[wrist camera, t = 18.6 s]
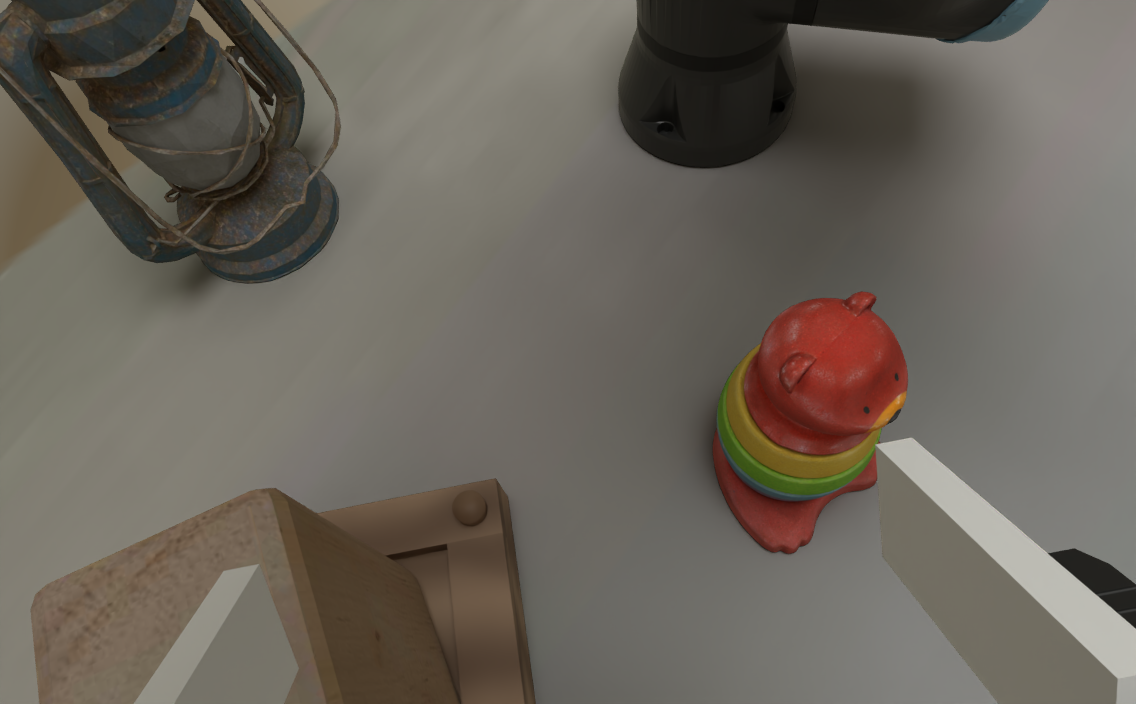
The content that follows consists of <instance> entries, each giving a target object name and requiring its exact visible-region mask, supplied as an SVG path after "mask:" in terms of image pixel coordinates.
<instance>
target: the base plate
mask: <svg viewBox="0 0 1136 704" xmlns="http://www.w3.org/2000/svg"><path fill="white" fill-rule="evenodd" d="M317 514H318V515H320V516H321V517H323V518H325V519H326V520H328V521H330V522H331V523H333V524H334V525H336V526H338V527H339V528H341V529H343V530H344V531H346V532H347V533H349V534H351V535H352V536H354V537H356V538H357V539H359V540H360V541H362V542H364V543H365V544H367V545H369V546H370V547H372V548H373V549H375V550H377V551H378V552H380V553H382V554H383V555H385V556H386V557H388V558H390V559H391V560H393V561H395V562H396V563H398V564H399V565H401V566H403V567H404V568H406V569H408V570H409V571H410V572H411V573H412V574H413V575H414V576H415V577H416V578H417V580H418V583H419V586H420V589H421V592H422V594H423V597H424V600H425V603H426V606H427V609H428V612H429V614H430V617H431V620H432V623H433V626H434V629H435V632H436V634H437V637H438V640H439V643H440V646H441V649H442V652H443V654H444V657H445V660H446V663H447V666H448V669H449V672H450V674H451V677H452V680H453V683H454V686H455V689H456V692H457V694H458V697H459V700H460V703H461V704H536V702H535V695H534V687H533V680H532V672H531V665H530V657H529V650H528V643H527V635H526V628H525V620H524V613H523V605H522V598H521V590H520V583H519V576H518V568H517V561H516V553H515V546H514V538H513V531H512V523H511V516H510V509H509V501H508V497H507V495H506V493H505V492H504V490H503V489H502V487H501V486H500V484H499V483H498V481H497V479H496V478H495V479H490V480H485V481H480V482H474V483H469V484H464V485H459V486H454V487H449V488H444V489H439V490H434V491H428V492H423V493H418V494H413V495H408V496H403V497H398V498H393V499H388V500H383V501H377V502H372V503H367V504H362V505H357V506H352V507H347V508H342V509H337V510H332V511H326V512H321V513H317Z"/></svg>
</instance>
